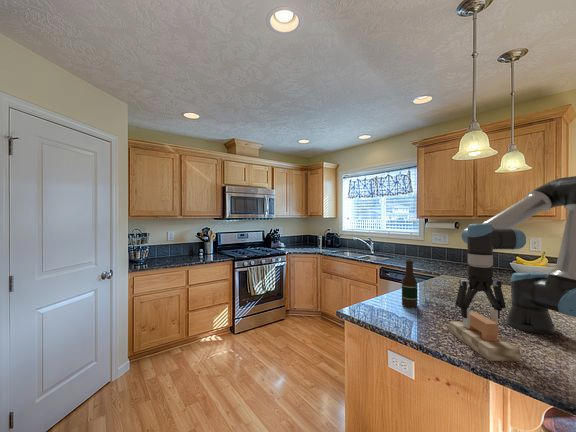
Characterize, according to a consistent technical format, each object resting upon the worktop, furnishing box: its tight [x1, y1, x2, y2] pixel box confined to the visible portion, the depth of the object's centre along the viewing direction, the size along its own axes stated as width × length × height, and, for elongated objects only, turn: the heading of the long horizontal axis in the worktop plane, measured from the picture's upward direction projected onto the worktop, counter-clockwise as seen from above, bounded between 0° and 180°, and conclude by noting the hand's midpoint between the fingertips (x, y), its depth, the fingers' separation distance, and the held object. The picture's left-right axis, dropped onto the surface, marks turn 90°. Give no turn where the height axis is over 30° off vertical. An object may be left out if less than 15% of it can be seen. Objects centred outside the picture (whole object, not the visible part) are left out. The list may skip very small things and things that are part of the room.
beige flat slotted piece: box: [448, 321, 521, 362], centre depth 95 cm, size 10×22×4 cm, turn 178°
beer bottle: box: [401, 259, 419, 309], centre depth 138 cm, size 8×8×24 cm
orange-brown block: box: [465, 310, 500, 342], centre depth 95 cm, size 12×4×10 cm, turn 178°
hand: (480, 326), depth 96 cm, fingers open, 9 cm apart
